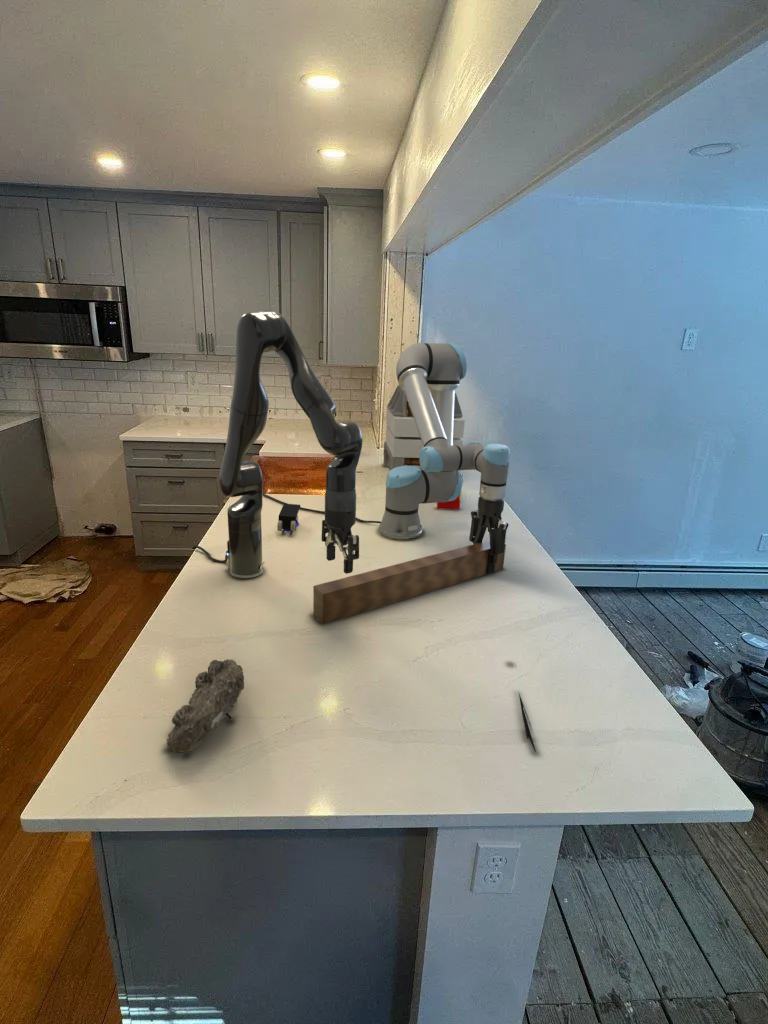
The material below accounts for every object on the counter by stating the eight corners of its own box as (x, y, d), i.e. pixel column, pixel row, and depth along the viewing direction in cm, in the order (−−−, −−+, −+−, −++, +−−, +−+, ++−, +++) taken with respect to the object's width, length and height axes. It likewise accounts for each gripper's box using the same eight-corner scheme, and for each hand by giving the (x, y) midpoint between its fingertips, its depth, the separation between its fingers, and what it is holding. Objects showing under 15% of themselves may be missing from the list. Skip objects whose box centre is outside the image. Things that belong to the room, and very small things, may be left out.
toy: (454, 466, 251) (466, 476, 222) (452, 496, 254) (463, 510, 225) (427, 466, 251) (435, 475, 222) (425, 495, 254) (433, 509, 224)
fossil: (192, 660, 117) (244, 628, 112) (224, 691, 120) (276, 661, 115) (142, 746, 98) (202, 712, 93) (182, 779, 101) (242, 748, 96)
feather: (511, 668, 129) (516, 662, 128) (535, 756, 102) (542, 749, 102) (505, 664, 129) (510, 658, 128) (527, 751, 102) (534, 744, 101)
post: (491, 563, 180) (494, 538, 177) (502, 569, 176) (506, 544, 173) (313, 615, 145) (313, 585, 142) (322, 624, 141) (323, 594, 138)
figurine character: (296, 541, 193) (301, 521, 206) (295, 521, 189) (301, 502, 203) (276, 540, 193) (283, 520, 206) (275, 520, 189) (282, 501, 203)
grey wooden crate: (382, 463, 289) (386, 382, 275) (445, 464, 293) (451, 384, 279) (390, 482, 257) (394, 392, 243) (460, 483, 261) (468, 394, 247)
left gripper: (312, 498, 140) (312, 558, 145) (342, 516, 129) (340, 580, 134) (338, 494, 144) (337, 553, 149) (369, 511, 133) (367, 573, 139)
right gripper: (461, 490, 171) (454, 560, 179) (505, 508, 158) (495, 583, 166) (479, 487, 176) (472, 555, 183) (523, 504, 162) (513, 577, 170)
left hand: (339, 566), depth 142 cm, fingers open, 8 cm apart
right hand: (483, 568), depth 174 cm, fingers closed on post, 5 cm apart
